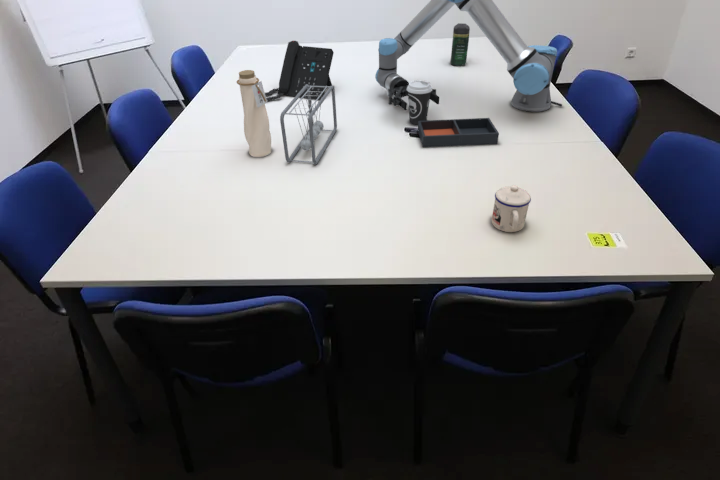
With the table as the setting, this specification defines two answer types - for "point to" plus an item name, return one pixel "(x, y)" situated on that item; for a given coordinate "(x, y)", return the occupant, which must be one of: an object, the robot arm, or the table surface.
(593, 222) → the table surface
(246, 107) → the water bottle
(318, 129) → the newton's cradle
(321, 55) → the office phone
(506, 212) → the teacup with lid
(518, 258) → the table surface
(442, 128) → the divided storage tray
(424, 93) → the coffee cup
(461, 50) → the green shampoo bottle
